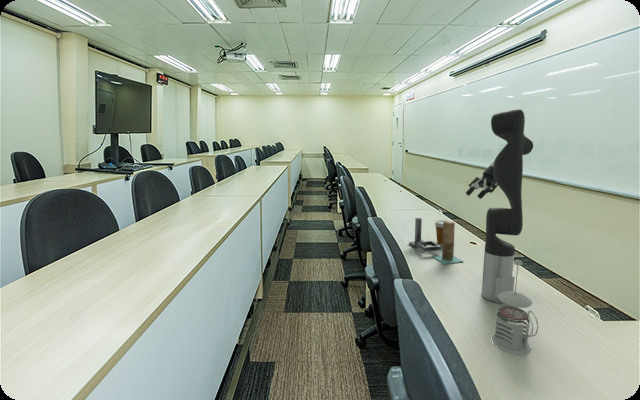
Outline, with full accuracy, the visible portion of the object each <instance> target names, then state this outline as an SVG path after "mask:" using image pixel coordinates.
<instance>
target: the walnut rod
mask: <svg viewBox="0 0 640 400" xmlns="http://www.w3.org/2000/svg"><path fill="white" fill-rule="evenodd" d="M444 221H445V222H443V244H442V247H441V251H442V253H441V255H442V259H444V260H453V256H454V252H455V250H454V249H455V248H454V247H455V227H456V226H455V225H456V223H455V222H454V221H451V220H450V221H449V220H444Z"/></svg>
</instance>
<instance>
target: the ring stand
mask: <svg viewBox="0 0 640 400" xmlns="http://www.w3.org/2000/svg"><path fill="white" fill-rule="evenodd" d="M422 220H423V219H422V218H421V217H415V223H414V224H415V225H414V226H415V227H414V241H409V242H408V244H409V246H411V247H412V248H414V249H420V250H421V251H423V252H424V253H425V252H433V251H434V252H435V251H442V245H441V244H439V243H437V242H434V241H433V240H426V241H425V240H423V239H422V224H423V223H422Z"/></svg>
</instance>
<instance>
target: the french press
mask: <svg viewBox="0 0 640 400" xmlns="http://www.w3.org/2000/svg"><path fill="white" fill-rule="evenodd" d="M513 265H515V266H516V275H515V276H516V277H515V284H514V290H513V291H508V292H502V293H499V294H498V298H499V300H500V301H501V302H503V303H502V304H505V305H502V306H500V307H499V308H498V312H497V313H496V319H495V321H496V323H495V331H494V333H495V334H492V335H493V336H492V335H491V337H492V341H493V343H494V344H495V345H496V346H497V347H498V348H497V347H496V346H495V345H494V344H493V343H492V344H493V345H494V346H495V347H496V348H497V349H499V350H500V351H502V352H504V353H507V354H510V355H515V356H527V355H528V354H530V353H531V352H532V347H531V346H530V344H529V343H528V341H529V338H532V337H535V336H537V334H538V331H539V322H538V319H537V317H536V316H535V314H534V312H533V311H532V310H528V312H527V311H525V310H524V309H526V308H529V307H531V306H532V305H533V301H532V299H531V298H529V297H528V296H526V295H524V293H520V292H517V282H518V273H519V266H522V265H523V261H522V260H520V259H516V260H515V259H514V263H513ZM530 313H531V314H532V316H534V317H533V318H534V319H535V322H536V325H537V326H536V331H535V333H534V334H533V332H534V324H533V321H532V318H531V317H530ZM509 322H510V323H509ZM513 323H514V324H513ZM530 323H531V332H530ZM529 332H530V334H529ZM492 341H491V342H492Z"/></svg>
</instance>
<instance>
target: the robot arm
mask: <svg viewBox="0 0 640 400" xmlns="http://www.w3.org/2000/svg"><path fill="white" fill-rule="evenodd" d="M525 122H526V119H525V112H524V111H523V110H522V109H520V108H515V109H510V110H509V109H508V110H504V111H499V112H497V113H494V114H493V115H492V116H491V120H490V126H491V131H492V133H493V134H494V135H495V136H496V137H498V138H500V139H502V140H504V141H505V142H506V144H505V145H504V147H503V148H502V149H500V151H499V153H498V154H497V156H496V157H495V159H494V161H493V162H492V163H491V164H490V165H488V167H487V168H486V169H485V170H484V171H483V172H482V176H481V177H480V178H479V177H478V176H476V177H475V178H474V179H473V180H472V181H471V182H470V183H469V184H468V186H469V188H468V190H466V191H465V194H466V196H469V197H470V195H471V194H473V193H474V191H475V190H478V189H482V190H481V191H480V192H479V193H478V194H477V197H478V199H479V200H482V199H483V198H484V196H486V194H489V193H490V194H492V193H493V192H494V191H495V190H496V189H497V188H498V187H499V188H500V190H501V191H502V192H503V194H505V196H506V198H507V200H508V202H509V205H510V208H508V207H507V208H506V207H489V208H488V210H487V212H486V216H485V218H486V219H485V243H484V244H485V245H484V253H483V268H482V280H481V281H482V282H481V296H482V298H484V299H486V300H488V301H491V302H493V303H495V304H504V303H503V302H501V301H500V300H499V298H498V294H499V293H502V292H508V291H513V292H514V290H515V279H516V277H515V276H514V275H513V271H514V261H515V253H516V249H515V246H514V245H513V244H511V243H510V242H508V241H505V240H503V239H502V238H500V237H499V236H497V235H507V236H519V235H520V234H521V233H522V230H523V225H524V224H523V222H524V221H523V220H524V218H523V217H524V216H523V201H522V199H523V198H522V187H523V185H522V184H523V173H524V172H523V171H524V170H523V168H524V167H523V166H524V164H523V163H524V160H523V158H524V157H523V156H526V155H528V154H530V153H532V150H533V149H534V142H533V141H532V140H531V139H530V138H528V137H527V136H525V133H524V132H525V124H526V123H525Z"/></svg>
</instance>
